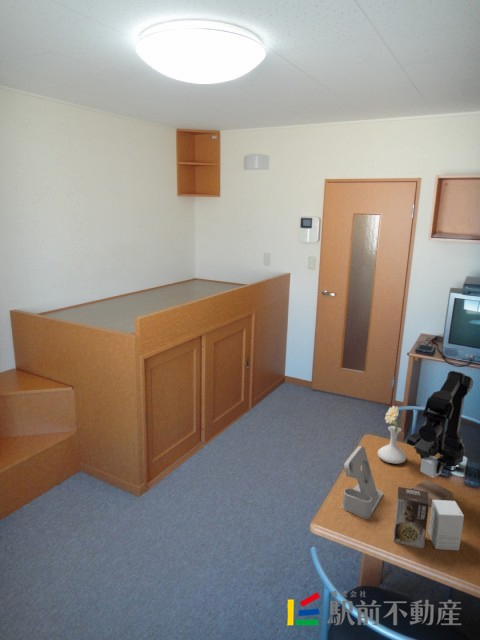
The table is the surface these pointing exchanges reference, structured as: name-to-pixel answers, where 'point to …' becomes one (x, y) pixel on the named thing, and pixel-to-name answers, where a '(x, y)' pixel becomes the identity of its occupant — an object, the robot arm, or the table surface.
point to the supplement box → (445, 525)
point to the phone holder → (360, 486)
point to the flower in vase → (392, 440)
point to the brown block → (434, 491)
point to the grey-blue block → (429, 466)
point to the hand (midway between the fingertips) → (431, 469)
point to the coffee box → (411, 517)
